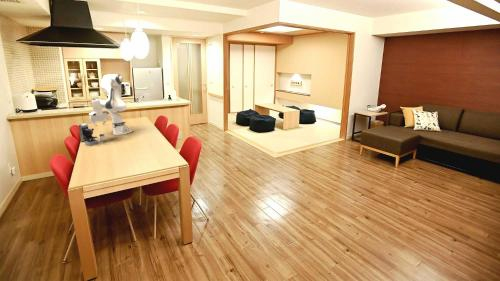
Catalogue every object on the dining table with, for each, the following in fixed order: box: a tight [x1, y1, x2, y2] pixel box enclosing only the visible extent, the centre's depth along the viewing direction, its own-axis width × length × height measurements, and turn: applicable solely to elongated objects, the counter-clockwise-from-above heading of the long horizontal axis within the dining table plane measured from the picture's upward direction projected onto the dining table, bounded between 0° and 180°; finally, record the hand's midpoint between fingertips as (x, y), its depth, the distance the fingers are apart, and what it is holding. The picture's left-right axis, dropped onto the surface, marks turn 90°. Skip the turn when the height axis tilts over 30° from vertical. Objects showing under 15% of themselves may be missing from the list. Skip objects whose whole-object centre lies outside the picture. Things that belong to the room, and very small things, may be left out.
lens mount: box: [84, 138, 99, 147], centre depth 289 cm, size 9×9×4 cm
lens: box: [98, 133, 106, 143], centre depth 298 cm, size 5×5×8 cm
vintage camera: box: [78, 122, 99, 142], centre depth 298 cm, size 10×16×20 cm, turn 78°
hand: (100, 125), depth 293 cm, fingers open, 8 cm apart
